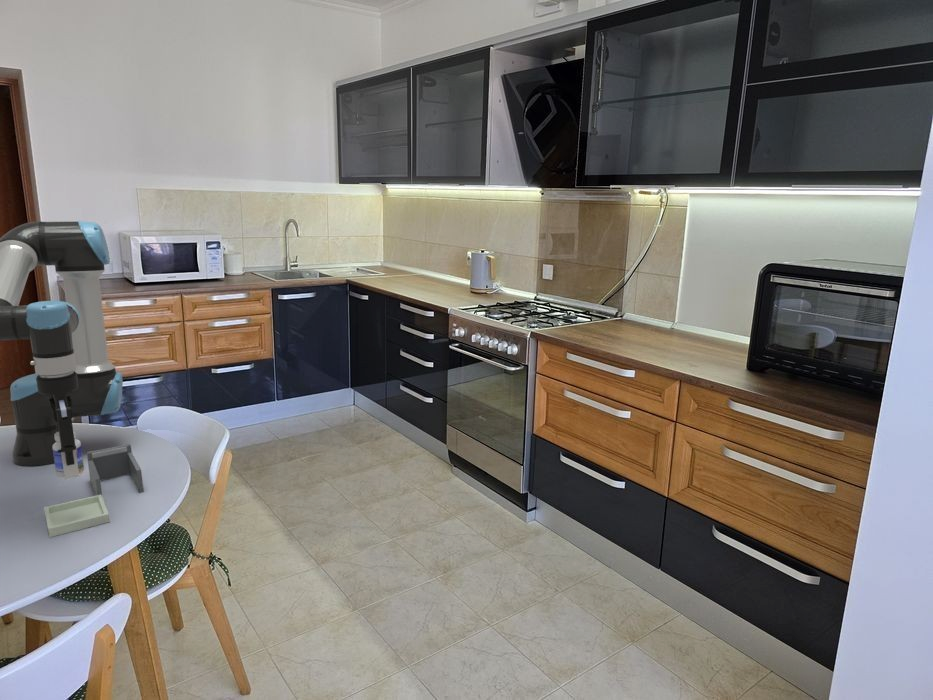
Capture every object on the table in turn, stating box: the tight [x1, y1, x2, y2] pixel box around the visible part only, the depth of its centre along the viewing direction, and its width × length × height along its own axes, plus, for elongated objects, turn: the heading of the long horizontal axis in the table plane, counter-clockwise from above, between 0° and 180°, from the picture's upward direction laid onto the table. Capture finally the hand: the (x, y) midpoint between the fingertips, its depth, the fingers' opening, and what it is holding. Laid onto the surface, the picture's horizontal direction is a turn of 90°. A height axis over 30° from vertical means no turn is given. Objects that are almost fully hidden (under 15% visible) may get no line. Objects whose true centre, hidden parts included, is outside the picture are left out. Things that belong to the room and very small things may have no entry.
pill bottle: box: [52, 429, 85, 479], centre depth 142 cm, size 5×5×10 cm
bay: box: [86, 443, 145, 499], centre depth 161 cm, size 14×10×8 cm
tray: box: [43, 494, 111, 538], centre depth 146 cm, size 12×12×2 cm
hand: (70, 471), depth 143 cm, fingers closed on pill bottle, 5 cm apart
